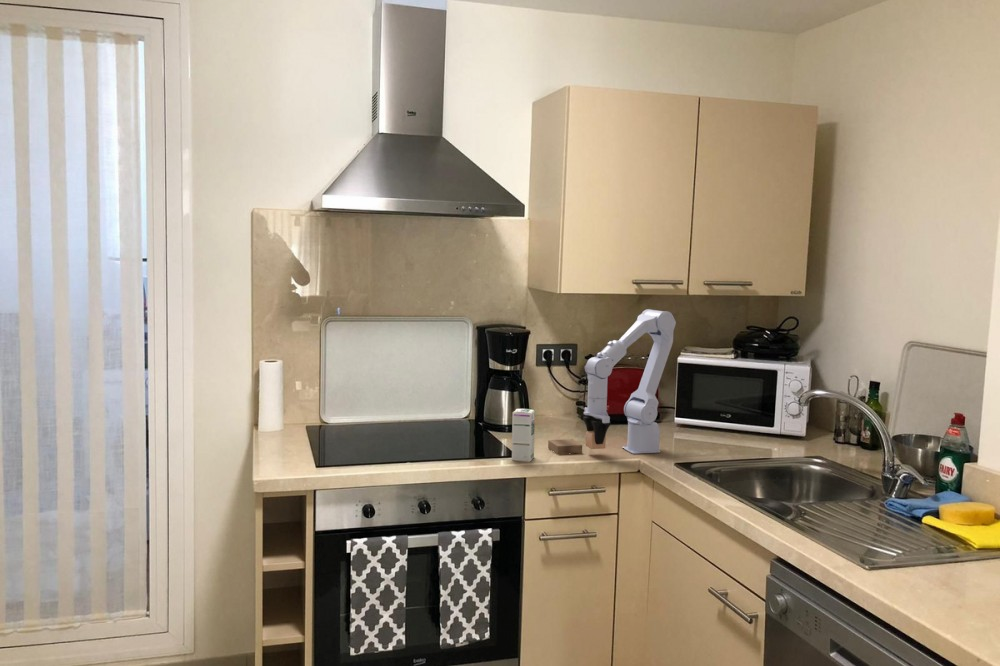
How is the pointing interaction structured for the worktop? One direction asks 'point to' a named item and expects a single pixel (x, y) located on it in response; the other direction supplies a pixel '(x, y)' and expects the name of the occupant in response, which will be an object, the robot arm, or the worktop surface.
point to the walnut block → (564, 446)
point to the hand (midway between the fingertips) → (595, 441)
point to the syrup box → (523, 435)
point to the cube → (593, 441)
